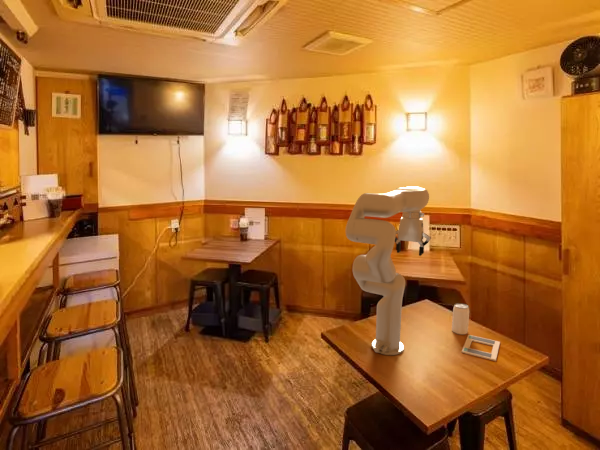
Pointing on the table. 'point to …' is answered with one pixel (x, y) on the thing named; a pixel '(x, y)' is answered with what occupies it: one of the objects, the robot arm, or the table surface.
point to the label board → (481, 354)
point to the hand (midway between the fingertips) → (409, 253)
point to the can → (460, 318)
